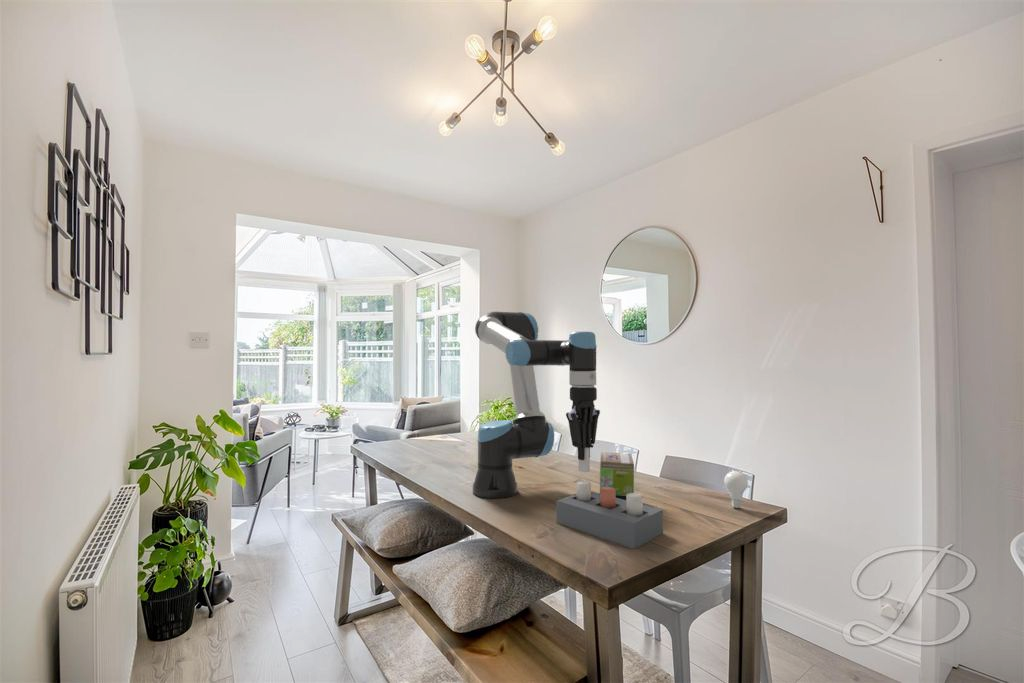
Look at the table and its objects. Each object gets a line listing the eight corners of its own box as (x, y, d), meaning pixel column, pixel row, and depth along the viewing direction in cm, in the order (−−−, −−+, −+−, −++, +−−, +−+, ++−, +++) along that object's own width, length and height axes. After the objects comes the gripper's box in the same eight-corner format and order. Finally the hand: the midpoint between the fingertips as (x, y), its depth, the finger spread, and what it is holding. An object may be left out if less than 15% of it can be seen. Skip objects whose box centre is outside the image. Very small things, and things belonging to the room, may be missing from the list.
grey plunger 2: (623, 517, 115) (623, 495, 115) (631, 513, 118) (631, 492, 118) (637, 521, 112) (637, 499, 112) (645, 517, 115) (645, 495, 115)
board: (556, 522, 124) (556, 500, 124) (587, 510, 134) (587, 490, 134) (634, 549, 107) (634, 523, 107) (662, 533, 117) (662, 509, 117)
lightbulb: (720, 506, 138) (719, 470, 138) (733, 503, 140) (733, 467, 141) (739, 513, 132) (738, 475, 132) (753, 509, 135) (752, 472, 135)
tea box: (635, 514, 131) (634, 462, 132) (599, 511, 133) (599, 461, 134) (631, 498, 146) (631, 452, 146) (600, 496, 148) (599, 450, 148)
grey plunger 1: (573, 502, 126) (573, 483, 127) (582, 499, 129) (582, 480, 129) (585, 506, 124) (585, 485, 124) (593, 503, 126) (593, 483, 127)
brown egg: (597, 509, 121) (597, 489, 121) (605, 506, 124) (605, 486, 124) (610, 513, 118) (609, 492, 118) (618, 509, 121) (618, 489, 121)
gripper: (579, 387, 120) (580, 477, 119) (607, 385, 129) (608, 469, 128) (557, 386, 126) (558, 472, 125) (586, 385, 135) (587, 465, 134)
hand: (584, 471), depth 126 cm, fingers closed
